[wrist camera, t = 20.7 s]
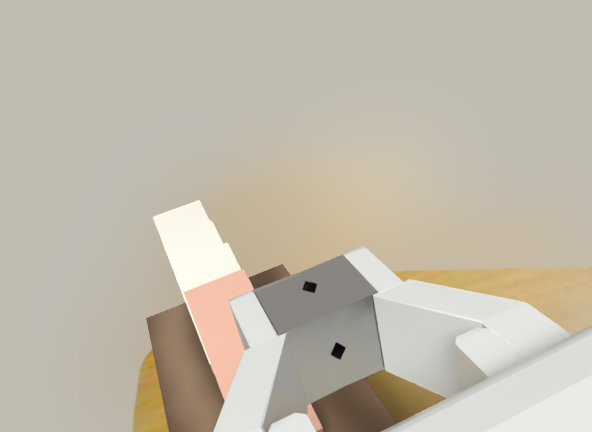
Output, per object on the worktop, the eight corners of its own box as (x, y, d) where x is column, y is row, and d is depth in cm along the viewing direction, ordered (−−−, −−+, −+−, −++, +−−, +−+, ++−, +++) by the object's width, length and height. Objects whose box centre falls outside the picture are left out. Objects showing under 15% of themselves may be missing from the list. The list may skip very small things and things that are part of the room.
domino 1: (251, 311, 46) (202, 210, 55) (249, 301, 45) (199, 199, 53) (198, 334, 44) (156, 227, 53) (195, 324, 43) (152, 216, 52)
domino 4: (323, 437, 33) (246, 280, 42) (322, 427, 32) (243, 268, 41) (251, 473, 32) (188, 303, 41) (248, 464, 31) (183, 292, 40)
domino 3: (271, 347, 41) (214, 231, 50) (269, 337, 40) (211, 220, 49) (213, 373, 40) (165, 250, 49) (209, 364, 39) (161, 239, 48)
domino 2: (297, 386, 37) (230, 253, 46) (296, 376, 36) (227, 242, 45) (233, 417, 36) (177, 274, 45) (229, 408, 35) (172, 263, 44)
